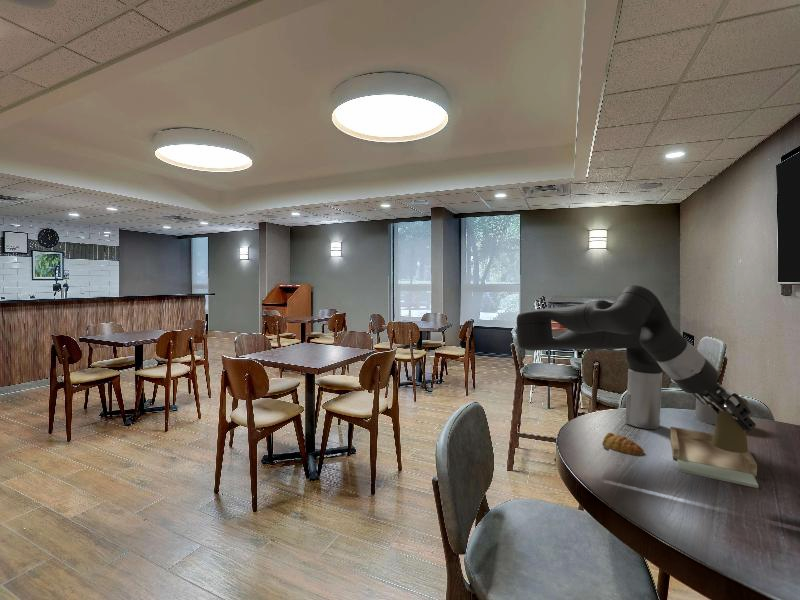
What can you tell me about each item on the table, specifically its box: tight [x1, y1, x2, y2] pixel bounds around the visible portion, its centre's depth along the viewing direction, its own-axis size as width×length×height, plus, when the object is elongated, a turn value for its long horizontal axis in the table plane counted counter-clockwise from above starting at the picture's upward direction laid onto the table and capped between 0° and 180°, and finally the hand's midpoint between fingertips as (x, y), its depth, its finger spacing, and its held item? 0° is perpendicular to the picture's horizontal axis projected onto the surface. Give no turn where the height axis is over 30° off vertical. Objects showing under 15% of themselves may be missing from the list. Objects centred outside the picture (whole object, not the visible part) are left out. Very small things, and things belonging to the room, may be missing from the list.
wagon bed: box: [669, 426, 758, 478], centre depth 106 cm, size 16×18×4 cm
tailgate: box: [676, 459, 759, 489], centre depth 95 cm, size 14×1×6 cm
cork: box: [711, 394, 749, 453], centre depth 86 cm, size 6×6×11 cm
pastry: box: [601, 432, 645, 456], centre depth 109 cm, size 9×7×4 cm
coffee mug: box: [694, 389, 735, 426], centre depth 135 cm, size 13×10×10 cm
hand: (739, 422), depth 86 cm, fingers closed on cork, 5 cm apart
